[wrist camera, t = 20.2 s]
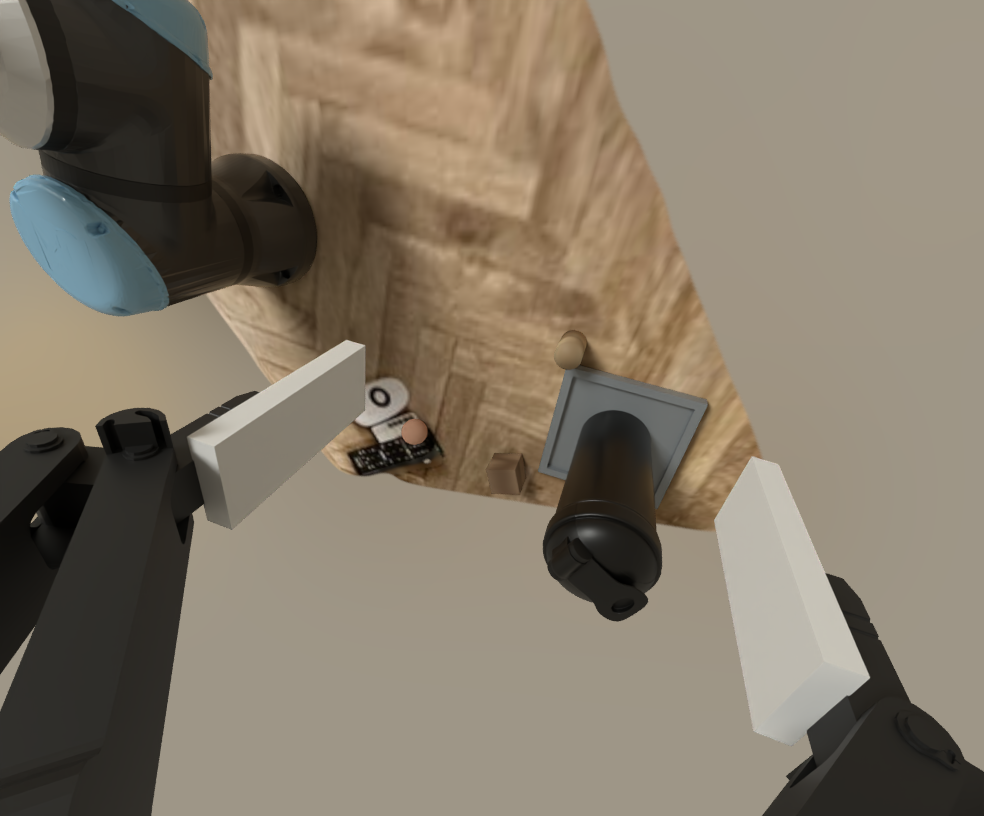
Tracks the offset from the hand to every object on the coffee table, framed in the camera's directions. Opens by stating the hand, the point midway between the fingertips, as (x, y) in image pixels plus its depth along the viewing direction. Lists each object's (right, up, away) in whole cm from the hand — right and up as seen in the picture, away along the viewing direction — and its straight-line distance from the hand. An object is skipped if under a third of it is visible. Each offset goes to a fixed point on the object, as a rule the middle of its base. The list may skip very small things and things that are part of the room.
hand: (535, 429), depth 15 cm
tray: (+14, -3, +41) cm, 43 cm away
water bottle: (+14, -3, +40) cm, 43 cm away
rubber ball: (-12, -2, +49) cm, 50 cm away
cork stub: (+8, +8, +37) cm, 38 cm away
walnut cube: (+1, -7, +48) cm, 48 cm away
